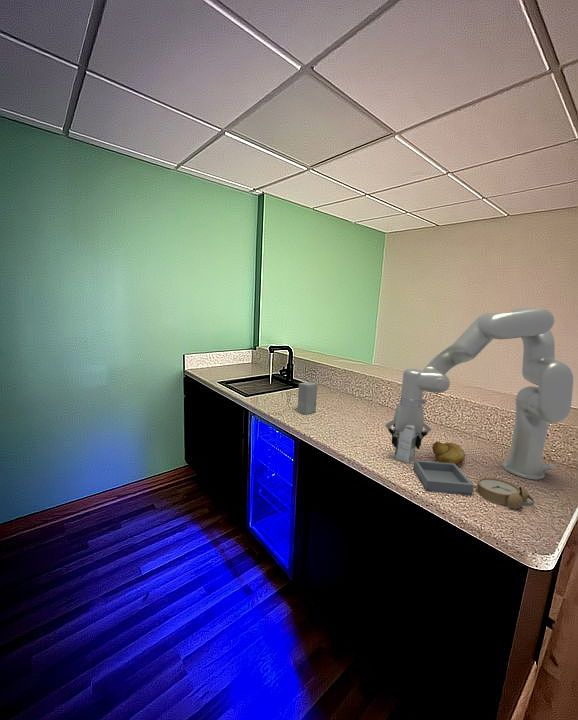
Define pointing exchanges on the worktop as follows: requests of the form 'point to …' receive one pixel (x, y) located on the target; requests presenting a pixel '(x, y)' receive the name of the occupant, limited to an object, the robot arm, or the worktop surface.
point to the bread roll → (448, 453)
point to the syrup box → (406, 444)
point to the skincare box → (307, 397)
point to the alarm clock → (503, 492)
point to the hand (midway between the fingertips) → (405, 446)
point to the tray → (442, 477)
